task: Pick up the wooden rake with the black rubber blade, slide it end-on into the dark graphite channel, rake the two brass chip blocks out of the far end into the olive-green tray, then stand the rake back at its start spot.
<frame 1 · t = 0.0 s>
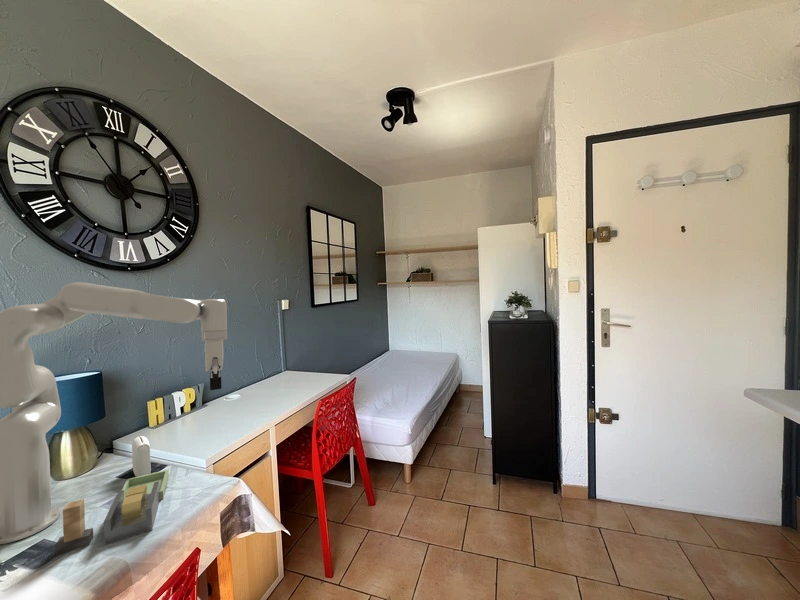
hand: (215, 385, 108), 31 cm above the table, fingers open, 9 cm apart
chip a: (133, 513, 86), point 3 cm above the table, touching channel
chip b: (136, 503, 90), point 3 cm above the table, touching channel
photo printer: (141, 473, 111), on the table
channel: (134, 520, 87), on the table
chip tray: (144, 492, 100), on the table
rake: (74, 546, 79), on the table
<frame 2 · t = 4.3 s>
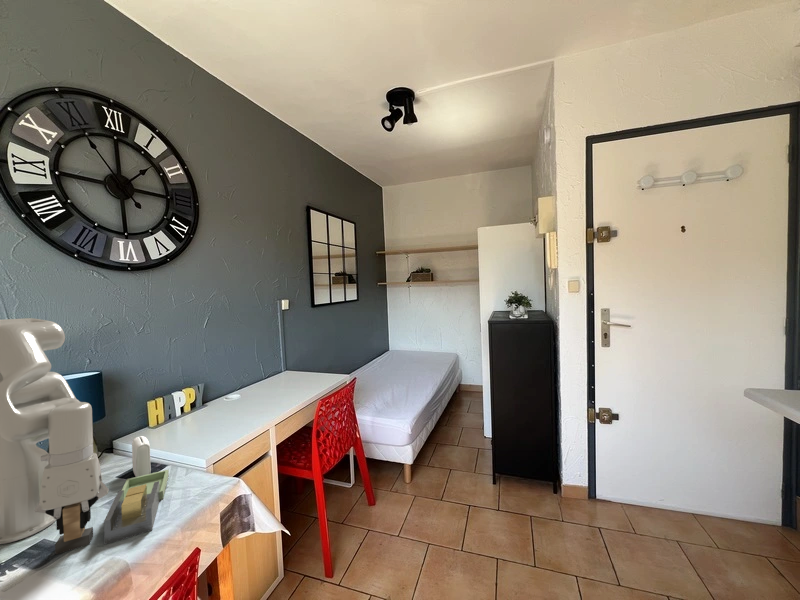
hand: (74, 527, 79), 5 cm above the table, fingers closed on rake, 3 cm apart
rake: (75, 545, 79), on the table, touching gripper
everything else where it was.
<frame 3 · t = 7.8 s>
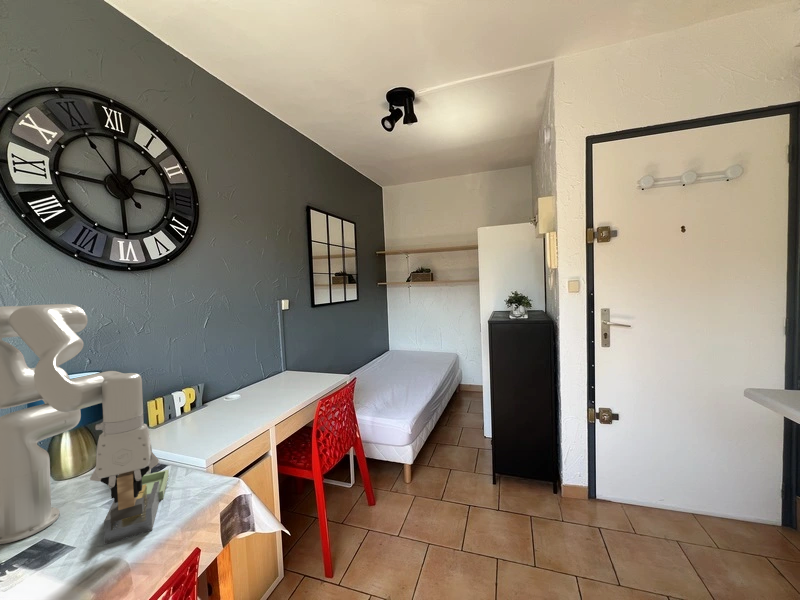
hand: (127, 496, 79), 12 cm above the table, fingers closed on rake, 3 cm apart
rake: (128, 514, 80), point 7 cm above the table, touching gripper
everything else where it was.
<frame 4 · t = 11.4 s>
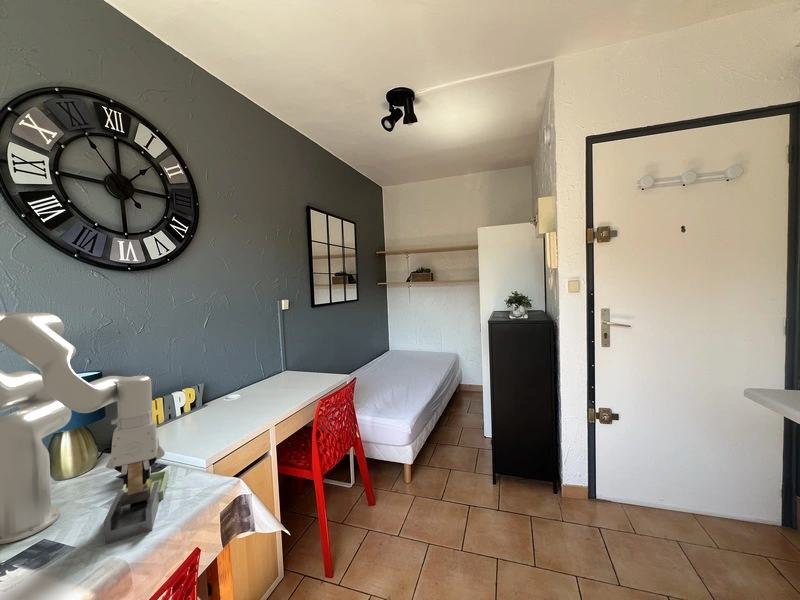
hand: (137, 483, 91), 8 cm above the table, fingers closed on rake, 3 cm apart
chip a: (140, 497, 93), point 3 cm above the table, tilted 10°, touching channel, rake
chip b: (141, 494, 95), point 2 cm above the table, tilted 90°, touching chip tray
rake: (135, 500, 89), point 4 cm above the table, tilted 9°, touching chip a, gripper
everything else where it was.
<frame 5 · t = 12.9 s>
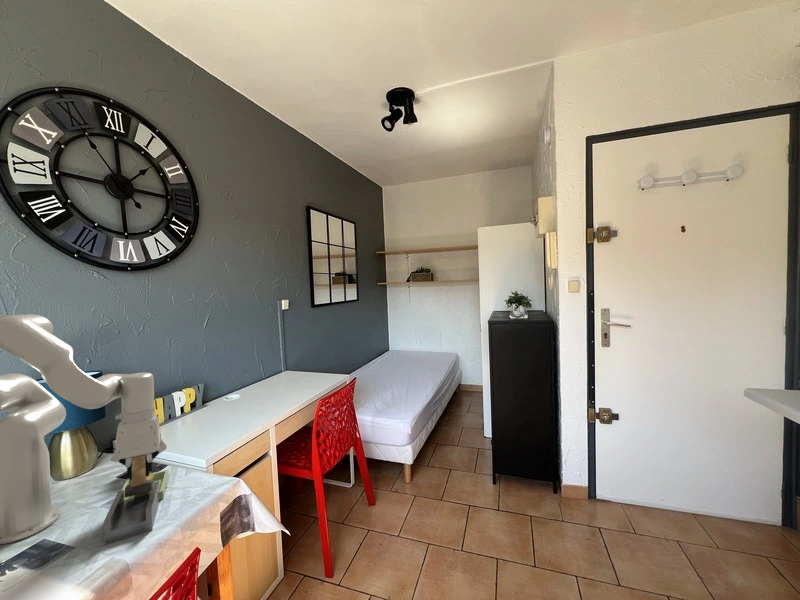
hand: (140, 475, 95), 8 cm above the table, fingers closed on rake, 3 cm apart
chip a: (144, 491, 97), point 2 cm above the table, touching chip b, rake
chip b: (144, 487, 98), point 3 cm above the table, tilted 91°, touching chip a, chip tray
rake: (139, 492, 93), point 4 cm above the table, tilted 11°, touching chip a, gripper
everything else where it was.
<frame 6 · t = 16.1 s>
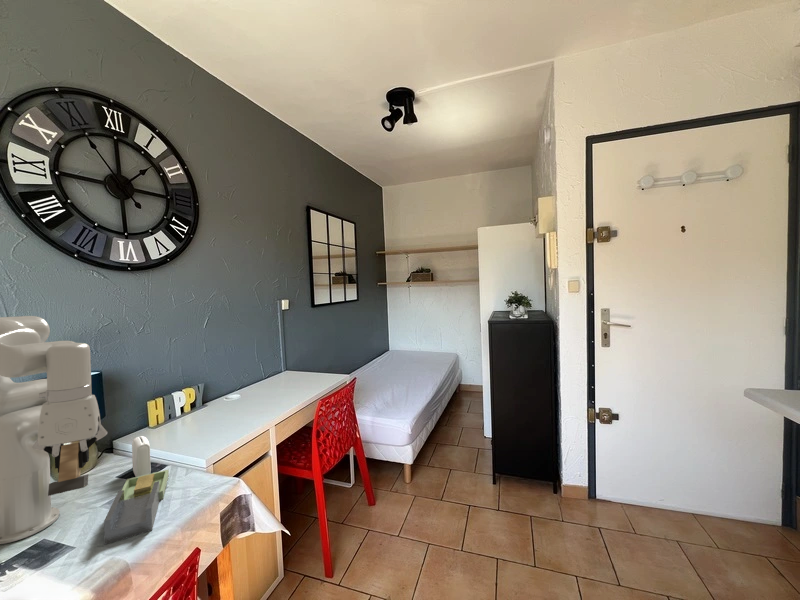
hand: (72, 467, 78), 20 cm above the table, fingers closed on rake, 3 cm apart
chip a: (144, 497, 97), resting on chip tray
chip b: (144, 487, 98), point 2 cm above the table, tilted 90°, touching chip tray
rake: (68, 490, 76), point 16 cm above the table, tilted 17°, touching gripper
everything else where it was.
when the fingers open (6 cm above the table, at t = 18.7 s): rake moves 2 cm and tips over, point 1 cm above the table.
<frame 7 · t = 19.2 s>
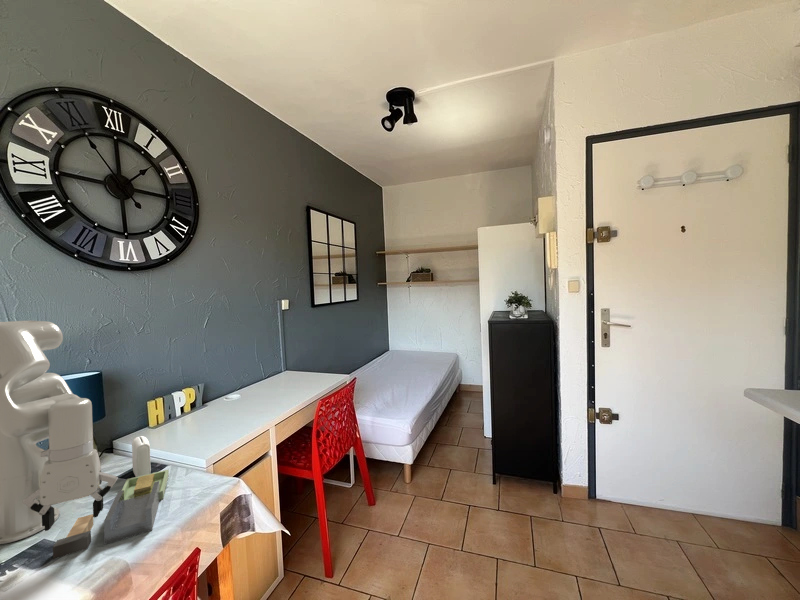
hand: (74, 520, 79), 6 cm above the table, fingers open, 8 cm apart
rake: (70, 548, 76), point 1 cm above the table, tilted 90°
everything else where it was.
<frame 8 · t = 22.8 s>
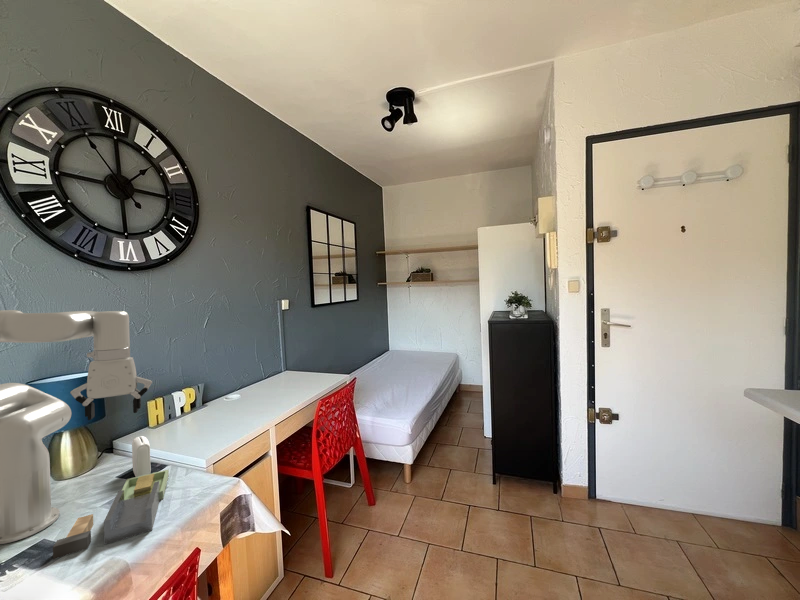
hand: (114, 414, 90), 28 cm above the table, fingers open, 9 cm apart
nothing on the table moved.
at the end: chip a inside the target area on the chip tray (4.0 cm from its centre), point 0.5 cm above the chip tray's base; chip b inside the target area on the chip tray (2.0 cm from its centre), point 2.5 cm above the chip tray's base; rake inside the target area (2.8 cm from its centre), point 1.4 cm above the table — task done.
